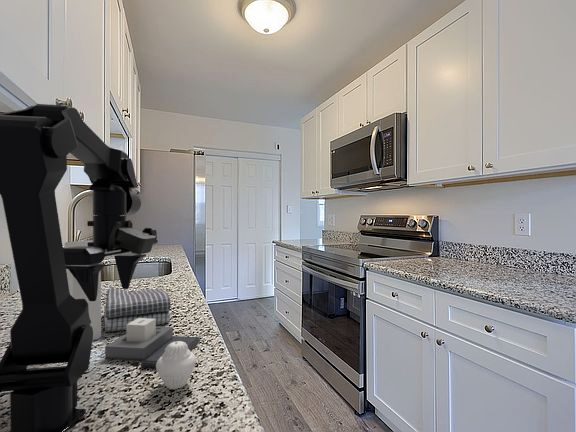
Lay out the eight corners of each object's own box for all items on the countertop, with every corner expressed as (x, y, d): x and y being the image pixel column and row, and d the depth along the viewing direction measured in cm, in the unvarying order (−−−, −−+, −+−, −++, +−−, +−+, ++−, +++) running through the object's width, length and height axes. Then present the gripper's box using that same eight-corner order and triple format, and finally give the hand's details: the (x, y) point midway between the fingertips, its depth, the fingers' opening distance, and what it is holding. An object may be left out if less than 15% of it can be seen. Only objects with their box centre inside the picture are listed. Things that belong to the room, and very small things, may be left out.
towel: (103, 337, 70) (103, 303, 70) (103, 315, 85) (103, 287, 85) (173, 324, 77) (173, 294, 77) (161, 306, 93) (161, 281, 93)
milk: (57, 343, 66) (55, 241, 66) (85, 333, 71) (84, 239, 71) (73, 348, 63) (72, 242, 63) (102, 337, 69) (100, 240, 69)
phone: (172, 369, 54) (172, 363, 54) (141, 367, 55) (141, 361, 55) (199, 341, 66) (199, 336, 66) (173, 340, 67) (173, 335, 67)
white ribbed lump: (192, 370, 54) (192, 331, 54) (199, 388, 48) (199, 344, 48) (154, 379, 51) (154, 338, 51) (157, 399, 45) (157, 353, 45)
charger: (144, 350, 61) (144, 325, 61) (126, 349, 62) (126, 324, 62) (155, 341, 65) (155, 318, 65) (138, 341, 66) (138, 317, 66)
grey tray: (144, 360, 58) (143, 347, 58) (105, 358, 58) (105, 345, 58) (172, 337, 68) (172, 326, 68) (139, 336, 69) (139, 325, 69)
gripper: (115, 215, 50) (115, 310, 50) (172, 215, 68) (172, 284, 68) (54, 215, 51) (54, 308, 51) (126, 215, 70) (126, 283, 70)
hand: (110, 294), depth 60 cm, fingers open, 9 cm apart
